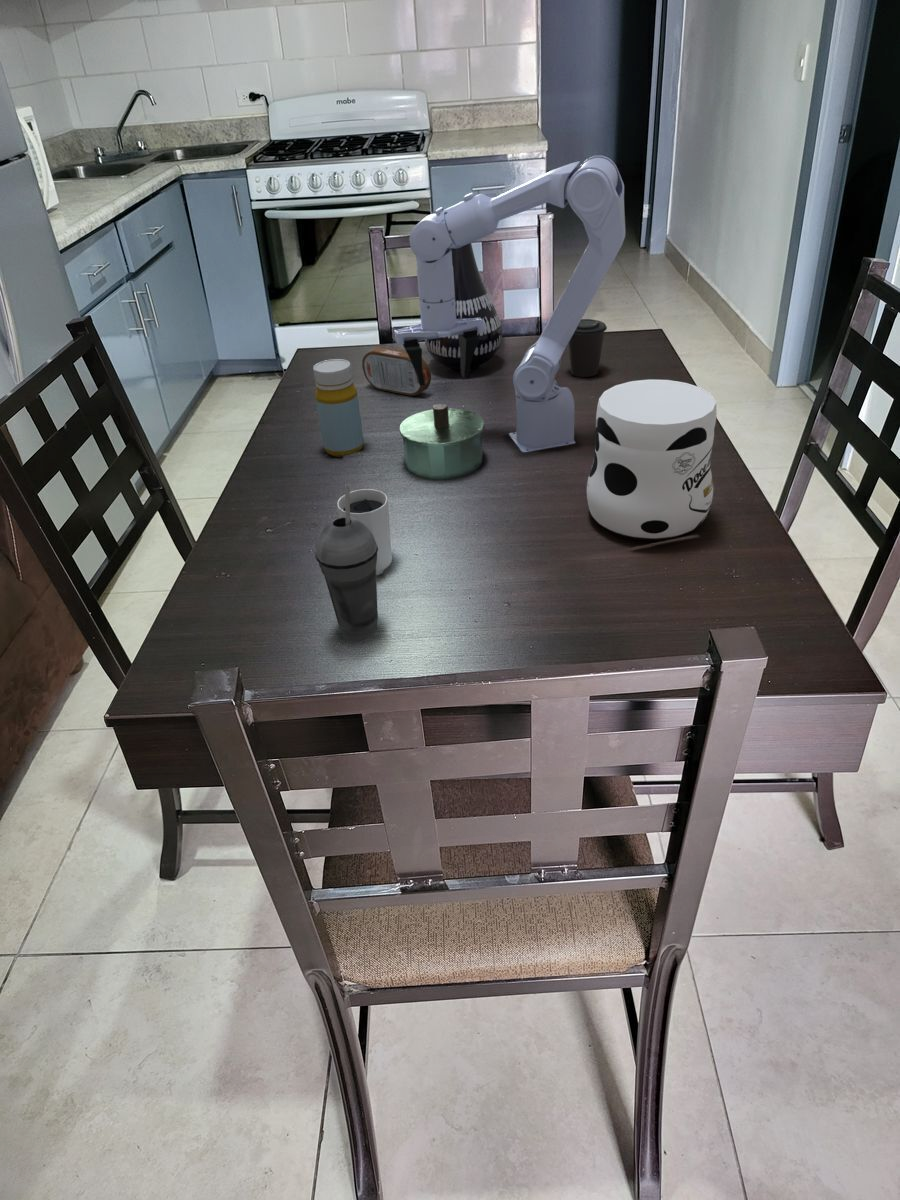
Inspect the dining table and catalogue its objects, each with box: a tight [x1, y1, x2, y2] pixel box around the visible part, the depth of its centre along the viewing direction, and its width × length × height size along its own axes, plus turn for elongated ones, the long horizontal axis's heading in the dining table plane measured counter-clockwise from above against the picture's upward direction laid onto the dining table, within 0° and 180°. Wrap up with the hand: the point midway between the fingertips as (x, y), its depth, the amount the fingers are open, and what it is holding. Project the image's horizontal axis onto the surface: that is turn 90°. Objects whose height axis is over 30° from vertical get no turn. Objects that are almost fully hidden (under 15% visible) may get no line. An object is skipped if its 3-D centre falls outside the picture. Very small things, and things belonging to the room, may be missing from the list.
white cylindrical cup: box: [336, 488, 393, 576], centre depth 112 cm, size 7×7×10 cm
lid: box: [399, 403, 485, 446], centre depth 134 cm, size 14×14×4 cm
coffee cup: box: [567, 318, 608, 378], centre depth 164 cm, size 8×8×10 cm
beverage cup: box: [315, 484, 379, 642], centre depth 97 cm, size 7×7×20 cm
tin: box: [361, 345, 432, 397], centre depth 163 cm, size 15×3×8 cm, turn 58°
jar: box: [402, 431, 484, 480], centre depth 137 cm, size 13×13×6 cm
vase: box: [424, 242, 503, 373], centre depth 166 cm, size 16×16×30 cm
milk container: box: [586, 379, 717, 542], centre depth 115 cm, size 17×17×18 cm
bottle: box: [312, 358, 365, 458], centre depth 141 cm, size 7×7×15 cm
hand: (442, 379), depth 141 cm, fingers open, 7 cm apart
